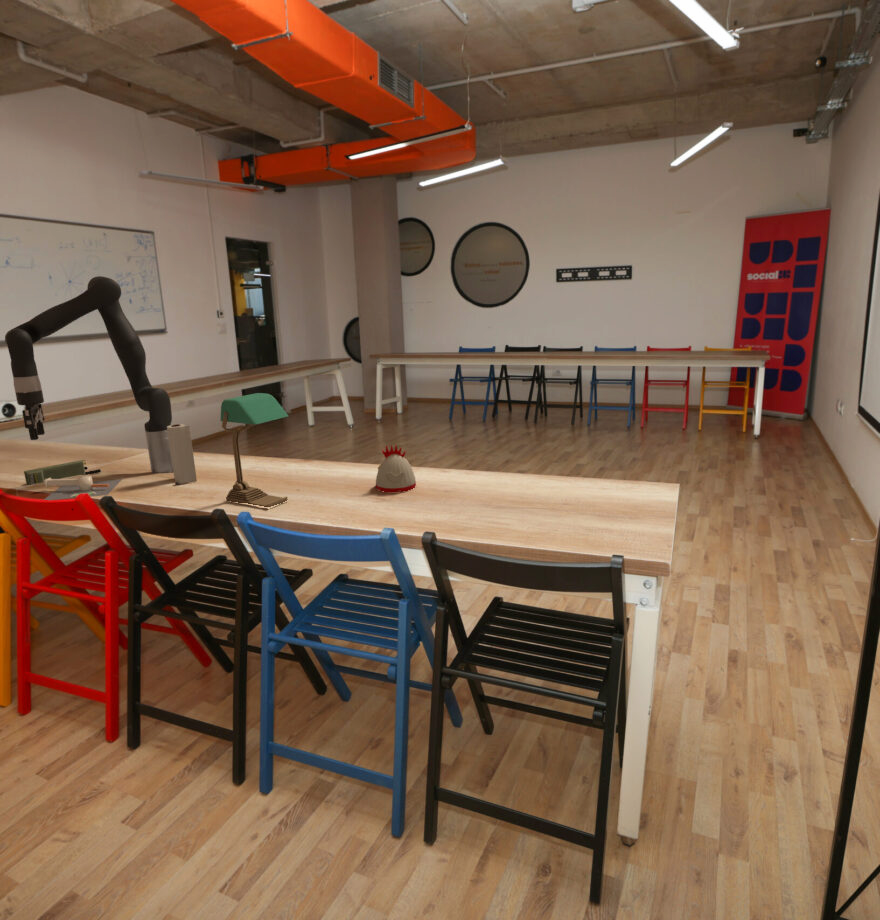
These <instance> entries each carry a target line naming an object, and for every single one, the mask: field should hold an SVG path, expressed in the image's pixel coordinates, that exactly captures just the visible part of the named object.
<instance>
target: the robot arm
mask: <svg viewBox="0 0 880 920" xmlns="http://www.w3.org/2000/svg"><path fill="white" fill-rule="evenodd" d="M121 296H122V288H121V286H120V285H119V283H118V281H115V280H114V279H112V278H110V277H106V276H102V275H101V276H100V275H99V276H94V277H92V278H91V279H90V280H89V281H88V283H87V288H86V290H85V291H83V292H82V293H81V294H78V295H77V296H75V297H73V298H71V299H69V300H66V301H65V302H61V303H59V304H57V305H55V306H52V307H50V308H48V309H46V310H43V311H42V312H41V313H39V314H37V315H36V316H34V317H33V318H31V319H29V320H28V321H26V322H24V323H22V324H20V325H17V326H15V327H14V328H11V329H10V330H8V331H7V332H6V334H5V335H4V340H5V343H6V345H7V350H8V354H9V356H10V357H9V358H10V369H11V374H12V379H13V387H14V388H13V389H14V393H15V397H16V403H17V404H18V405H19V406H24V407H25V409H23V410H22V411H21V412H22V418H23V421H24V422H23V423H24V428H25V429H27V430H28V433H29V434H28V435H29V438H30V440H31V441H37V440H39V436H44V435H45V434H46V432H45V427H44V422H45V415H44V410H43V405H42V404H44V403H45V399H44V394H43V393H44V392H43V388H42V383H41V381H40V377H39V374H38V369H37V367H38V366H37V362H36V360H35V352H34V351H35V350H34V344H35V343H36V342H39V341H40V340H42V339H43V338H47V337H49V336H51V335H53V334H55V333H56V332H59V331H60V330H62V329H64V327H67V326H69V325H70V324H71V323H74V322H75V321H77V320H78V319H80V318H83V317H84V316H86V315H87V314H90V313H91V312H92V313H93V312H94V311H98V313H99V314H100V317H101V318H102V320H103V322H104V326H105V329H106V332H107V334H108V338H109V339H110V341H111V345H112V346H113V350H114V351H115V354H116V355H117V357H118V360H119V361H120V363H121V365H122V367H123V371H124V373H125V375H126V377H127V379H128V381H129V384H130V388H131V391H132V394H133V397H134V401H135V403H136V404H137V406H138V408H139V409H140V410H142V411H144V412H147V413H149V414H148V415H149V418H148V421H146V422H145V423H144V432H145V433H144V434H145V438H146V445H147V451H148V457H149V463H150V464H149V466H150V471H151V474H174V472H173V465H172V458H171V451H170V445H169V438H168V431H167V426H170V425H172V421H173V415H172V404H171V399H170V395H169V393H168V392H167V391H166V390H165V389H163V388H159V387H153V385H152V384H151V382H150V379H149V378H148V375H147V371H146V370H147V369H146V364H147V363H146V361H147V356H146V355H147V354H146V351H145V348H144V346H143V343H142V342H141V339H140V337H139V335H138V333H137V331H136V330H135V328H134V327H133V325H132V323H131V322H130V321H129V319H128V318H127V316H126V314H125V313H124V311H123V308H122V307H121V306H122V305H121V303H120V301H119V300H120V298H121Z"/></svg>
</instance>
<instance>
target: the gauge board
mask: <svg viewBox="0 0 880 920" xmlns="http://www.w3.org/2000/svg"><path fill="white" fill-rule="evenodd" d="M121 481H123V478H118V479H117V478H116V479H107V480H97V481H96V480H95V481H93V484H109V487H94V488H93V489H91V490H86V491H80V490H79V485H63V486H59V487H58V488H56V490H54V491H52V493H50V494H49V495H48V496H47V497H45V498H44V499H43V500H48V501H58V500H67V499H68V500H69V499H76V498H75V497H76V496H77V495H79V494H81V493H88V494H89V495H90V496H91V497H100V496H101V497H103V496H108V495H109V494H110V493H111V492H112V491H113V490H114V489H115V488H116V487H117V486H118V484H119V483H120V482H121Z"/></svg>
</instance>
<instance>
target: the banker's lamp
mask: <svg viewBox="0 0 880 920" xmlns="http://www.w3.org/2000/svg"><path fill="white" fill-rule="evenodd" d="M288 417H289V415H288V413H287V412H286V410H284V408H283V406H281V404H280V403H279V402H278V400H277V399H276V398H275V397H274V396H273V395H271V394H269V393H264V392H260V393H259V392H257V393H251V394H246V395H242V396H241V395H240V396H236V397H231V398H226V399H224V400H223V401H222V402H221V406H220V422H221V423H222V424H221V427H222V429H223V430H225V431H226V432H229V433H230V432H231V433H232V436H231V437H232V438H231V440H232V441H231V442H232V451H233V458H234V468H235V474H236V481H235V482H234V484H233V486H232V488H231V489H230V490H229V491H228V492H227V495H226V496H225V501H226V502H227V501H231V502H230V503H232V502H238V503H248V504H253V505H259V506H264V507H271V506H274V505H277V504H280V503H283V502H285V501H287V500H288V496H285V497H280V496H275V495H271V494H269V493H266V492H264V490H262V489H261V488H258V487H252V486H250V485H249V483H248V482H247V481H245V480H244V477H243V469H242V462H241V461H242V460H241V454H240V452H241V451H240V445H239V443H240V442H239V438H240V437H239V436H240V434H241V433H242V432H243V431H245V430H247V429H250V428H252V427H253V426H256V425H261V424H263V423H268V422H271V421H275V420H279V419H284V418H288ZM228 423H235V424H244V425H243V426H242V427H240V428H238V429H236V431H235V430H233V429H230V428H227V425H228ZM288 501H289V500H288Z"/></svg>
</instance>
